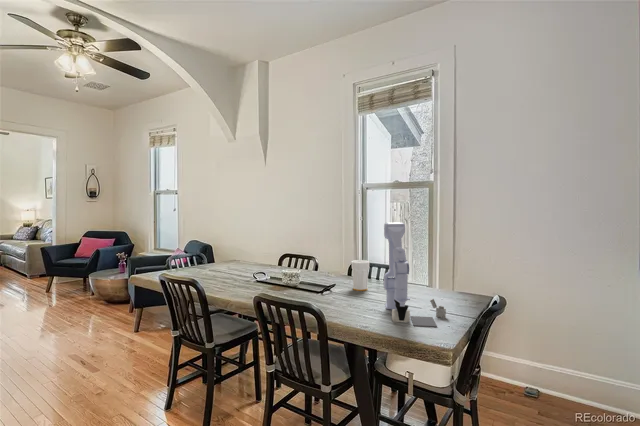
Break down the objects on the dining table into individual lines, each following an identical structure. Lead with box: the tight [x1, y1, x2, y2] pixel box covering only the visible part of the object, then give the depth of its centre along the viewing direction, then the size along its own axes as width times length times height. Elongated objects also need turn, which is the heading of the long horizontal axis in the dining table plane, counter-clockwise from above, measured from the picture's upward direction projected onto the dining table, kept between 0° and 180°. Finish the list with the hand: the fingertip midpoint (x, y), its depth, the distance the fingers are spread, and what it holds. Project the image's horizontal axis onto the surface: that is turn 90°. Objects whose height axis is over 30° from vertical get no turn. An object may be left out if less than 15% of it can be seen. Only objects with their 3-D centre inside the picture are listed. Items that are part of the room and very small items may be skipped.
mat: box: [410, 315, 438, 328], centre depth 158 cm, size 12×10×1 cm
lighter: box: [429, 298, 447, 319], centre depth 165 cm, size 7×2×8 cm, turn 56°
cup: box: [350, 259, 371, 292], centre depth 216 cm, size 11×11×17 cm
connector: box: [391, 309, 411, 323], centre depth 159 cm, size 3×8×7 cm, turn 82°
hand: (400, 317), depth 159 cm, fingers open, 7 cm apart
